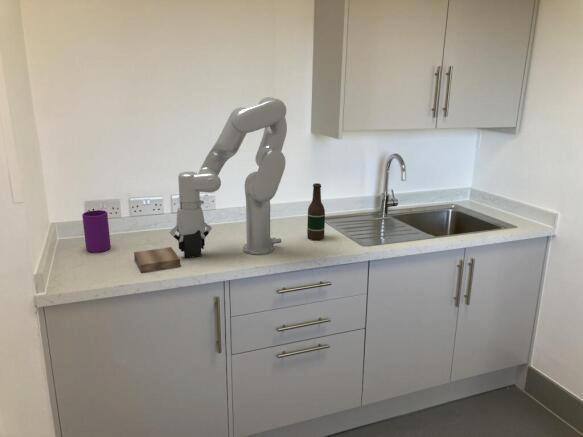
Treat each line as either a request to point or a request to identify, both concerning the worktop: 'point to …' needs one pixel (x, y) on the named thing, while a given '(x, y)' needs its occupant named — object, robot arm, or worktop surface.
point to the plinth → (156, 259)
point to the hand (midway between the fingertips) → (191, 248)
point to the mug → (96, 231)
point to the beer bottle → (316, 216)
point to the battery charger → (192, 245)
